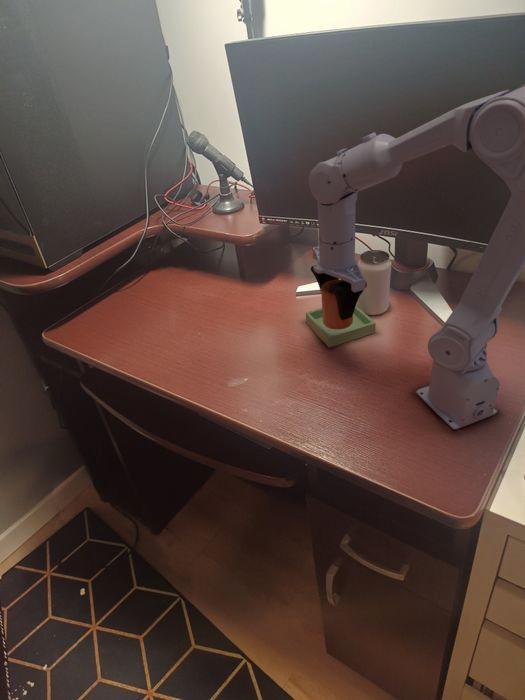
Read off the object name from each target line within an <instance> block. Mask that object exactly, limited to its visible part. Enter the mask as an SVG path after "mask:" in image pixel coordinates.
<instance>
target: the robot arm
mask: <svg viewBox="0 0 525 700" xmlns="http://www.w3.org/2000/svg"><path fill="white" fill-rule="evenodd" d="M510 91H511V89H505V90H503V91H499V92H496V93H493V94H490V95H487V96H484V97H481V98H478V99H475V100H472V101H470V102H467V103H464V104H462V105H460V106H458V107H456V108H453V109H451V110H449V111H447V112H445V113H444V114H441V115H440V116H438V117H436V118H434V119H432V120H430V121H427V122H426V123H424V124H421V125H420V126H418V127H416V128H414V129H412V130H410V131H408V132H406V133H404V134H403V135H400V136H399V137H396V138H395V137H394V136H392V135H390V134H387V133H380V134H378V135H377V133H376V132H372V133H370V134H367V135H365V136H363V137H362V142H361V143H360V144H358V145H356V146H354V147H351V148H350V149H347V148H346V147H345V148H342V149H340V150H338V151H337V152H336V156H334V157H332V158H330V159H327V160H326V161H320V162H318V163H317V165H316V166H313V168H312V169H311V170H310V172H309V176H308V186H309V191H310V193H311V195H312V197H313V198H314V199H315V200H316V201H317V223H318V224H317V226H318V227H317V228H318V246H314V247H312V258H313V259H314V260H316V262H317V264H315V265H312V266H311V267H310V272H311V273H312V274H313V276H314V278H315V279H316V282H317V285H318V287H319V291H320V292H321V287H322V285H323V284H324V283H325V282H327V281H330V280H336V279H341V280H342V282H340V283H336V284H333V285H331V289H332V290H333V292H334V294H335V297H336V300H337V304H338V312H339V316H340V319H341V320H345V319H348V318H351V317H352V316H353V313H354V310H355V307H356V306H357V301H358V299H359V297H360V295H361V294H362V292H363V291H364V290H365V288H366V287H367V282H366V279H365V278H364V277H363V276H362V274H361V272H360V270H359V267H358V262H357V260H356V211H357V210H356V209H357V208H356V205H357V203H356V202H357V201H358V193H359V192H361V191H363V190H366V189H369V188H371V187H373V186H376V185H378V184H381V183H383V182H387V181H389V180H391V179H394V178H395V177H397V176H398V174H399V173H400V171H401V170H402V166H403V164H404V163H405V162H408V161H411V160H413V159H416V158H419V157H422V156H424V155H427V154H430V153H432V152H435V151H438V150H440V149H443V148H445V147H448V146H452V145H453V146H454V147H455V148H457V149H458V150H459V151H461V152H463V153H469V152H470V151H472V150H473V151H474V153H475V154H476V156H477V157H478V158H479V159H480V160H481V161H482V162H483V163H484V164H485V165H486V166H488V167H489V168H490V169H491V170H492V171H493V172H494V173H495V174H496V175H498V176H499V177H500V178H501V179H502V180H503V181H504V182H505V184H506V186H507V188H508V189H509V191H510V193H511V196H510V198H509V200H508V202H507V204H506V206H505V208H504V211H503V212H502V215H501V216H500V219H499V221H498V223H497V225H496V227H495V228H494V230H493V232H492V235H491V236H490V239H489V241H488V243H487V245H486V247H485V249H484V251H483V253H482V255H481V258H480V260H479V261H478V263H477V266H476V268H475V269H474V272H473V274H472V275H471V277H470V280H469V282H468V284H467V286H466V288H465V290H464V292H463V294H462V296H461V298H460V301H459V302H458V303H457V305H456V307H455V308H454V309H453V311H452V312H451V313H450V315H449V316H448V318H447V319H446V321H445V322H444V323H443V326H442V327H441V328H440V329H439V330H438V331H437V332H435V333H433V334H432V335H431V336H430V337H429V339H428V342H427V350H428V353H429V356H430V358H431V360H432V365H431V371H430V378H429V385H428V386H425V387H421V388H419V389H417V390H416V391H415V392H416V393H415V394H416V395H417V396H418V397H419V398H420V399H421V400H422V401H423V402H424V403H425V404H426V405H427V406H428V407H429V408H430V409H431V410H432V411H433V412H435V414H436V415H437V416H439V417H440V418H441V420H443V422H444V423H446V424H447V425H448V427H450V428H451V429H452V430H459V429H461V428H464V427H467V426H469V425H471V424H474V423H476V422H479V421H482V420H484V419H486V418H489V417H492V416H494V415H496V414H497V412H498V411H497V409H496V408H495V405H496V401H497V397H498V394H499V391H500V381H499V379H498V378H497V377H496V376H495V375H494V374H493V372H492V371H491V369H490V367H489V365H488V362H487V359H488V356H487V355H488V351H487V346H486V344H487V345H488V343H489V342H490V341H491V340H492V339H493V338H494V337H496V335H497V334H498V331H499V316H500V314H501V312H502V311H503V307H502V305H503V304H504V302H505V300H506V299H507V296H508V295H509V293H510V291H511V289H512V288H513V286H514V285H515V283H516V281H517V279H518V278H519V276H520V274H521V272H522V271H523V269H524V267H525V83H524V84H521V85H519V86H518V87H516V89H515V90H512V91H511V92H510Z"/></svg>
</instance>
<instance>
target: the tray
mask: <svg viewBox="0 0 525 700" xmlns="http://www.w3.org/2000/svg"><path fill="white" fill-rule="evenodd" d="M305 321H306V322H305V323H306V324H307V325H308V326H309V327H310V329H311V330H312V331H313V332H314V333H315V334H316V335H317V337H319V339H320V340H321V341H322V342H323V343H324V344H325V346H326V347H327V348H333V347H336V346H339V345H342V344H345V343H349V342H351V341H354V340H357V339H360V338H364V337H367V336H370V335H373V334H376V325H377V323H376V321H374V320H373V319H372V318H371V317H370V316H369V315H366V314H365V313H364V312H363V311H362V310H361V309H359V308H358V307H357V305H356V307H355V310H354V313H353V323H352V325H351V326H349V327H347V328H345V329H339V330H335V329H330V328H328V327H326V326H325V325H324V324H323V319H322V307H321V308H317V309H313V310H310V311H308V312H305Z"/></svg>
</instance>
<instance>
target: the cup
mask: <svg viewBox="0 0 525 700" xmlns="http://www.w3.org/2000/svg"><path fill="white" fill-rule="evenodd" d="M340 282H342V280H341V279H336V280H330V281H327V282H325V283H324V284H323V285H322V287H321V291H320V294H321V308H322V319H323V324H324V325H325V326H326V327H328V328H330V329H335V330H339V329H345V328H347V327H349V326H351V325H352V323H353V316H352V317H351V318H348V319H345V320H341V319H340V316H339V312H338V304H337V300H336V297H335V294H334V292H333V290H332V289H331V285H333V284H336V283H340Z"/></svg>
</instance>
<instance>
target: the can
mask: <svg viewBox="0 0 525 700" xmlns="http://www.w3.org/2000/svg"><path fill="white" fill-rule="evenodd" d="M390 257H391V256H390V253H388V252H387V251H384V250H380V249H371V250H370V249H369V250H366V251H364V252H362V253H360V256H359V258H360V259H359V260H358V262H357V265H358V267H359V270H360V272H361V274H362V276H363V277H364V278H365V279H366V282H367V287H366V288H365V290H364V291H363V292H362V294H361V295H360V297H359V299H358V301H357V304H356V306H357V307H358V308H359V309H361V310H362V311H363V312H364V313H365V314H366V315H367V316H379V315H382V314H384V313H386V311H388V309H389V308H390V307H389V306H390V293H391V292H390V291H391V278H392V277H391V276H392V261H391V258H390Z"/></svg>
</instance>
